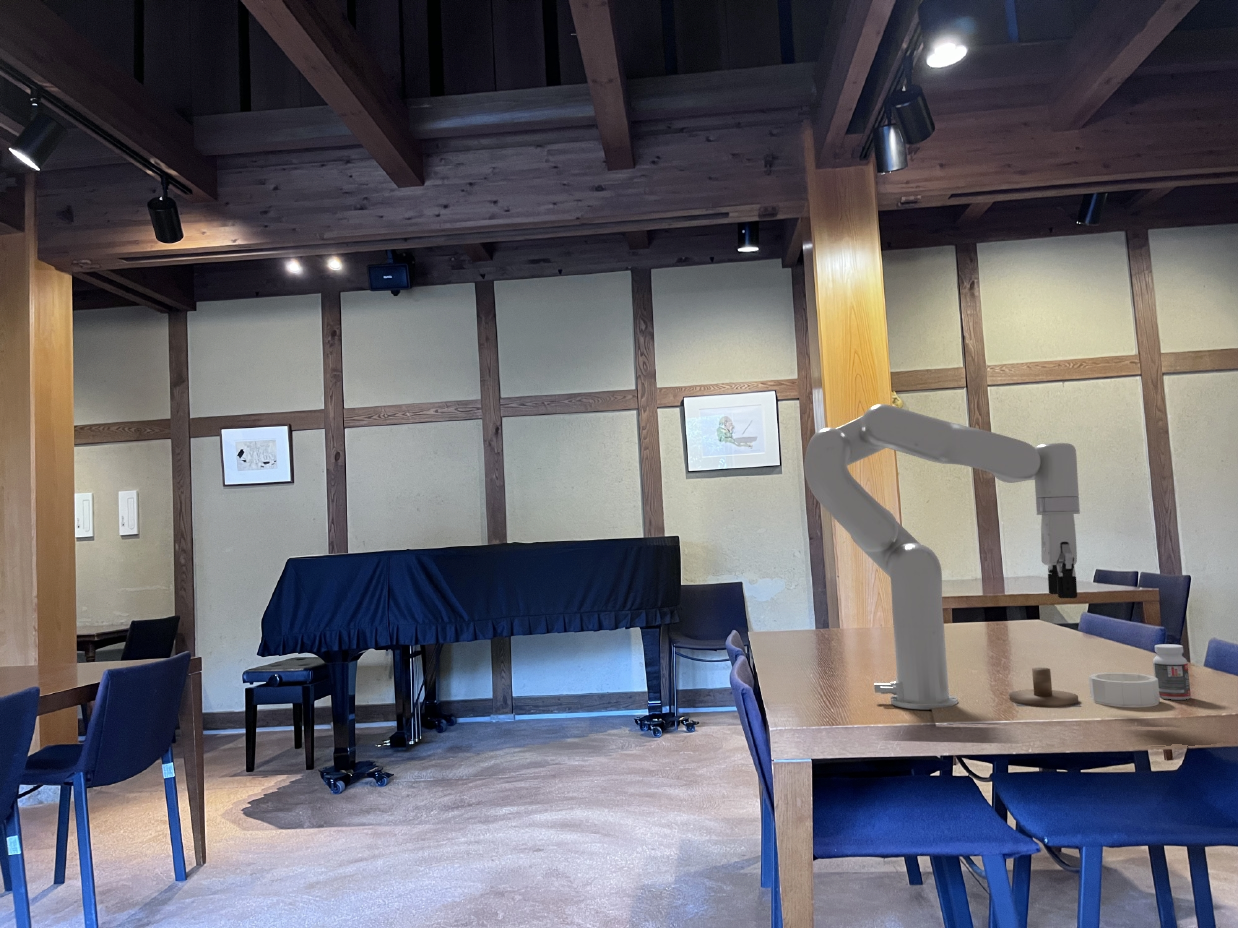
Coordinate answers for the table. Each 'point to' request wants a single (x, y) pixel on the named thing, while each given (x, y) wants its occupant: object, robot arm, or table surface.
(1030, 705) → the mat
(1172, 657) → the pill bottle
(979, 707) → the table surface
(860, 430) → the robot arm
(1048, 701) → the lid
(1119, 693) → the bowl
